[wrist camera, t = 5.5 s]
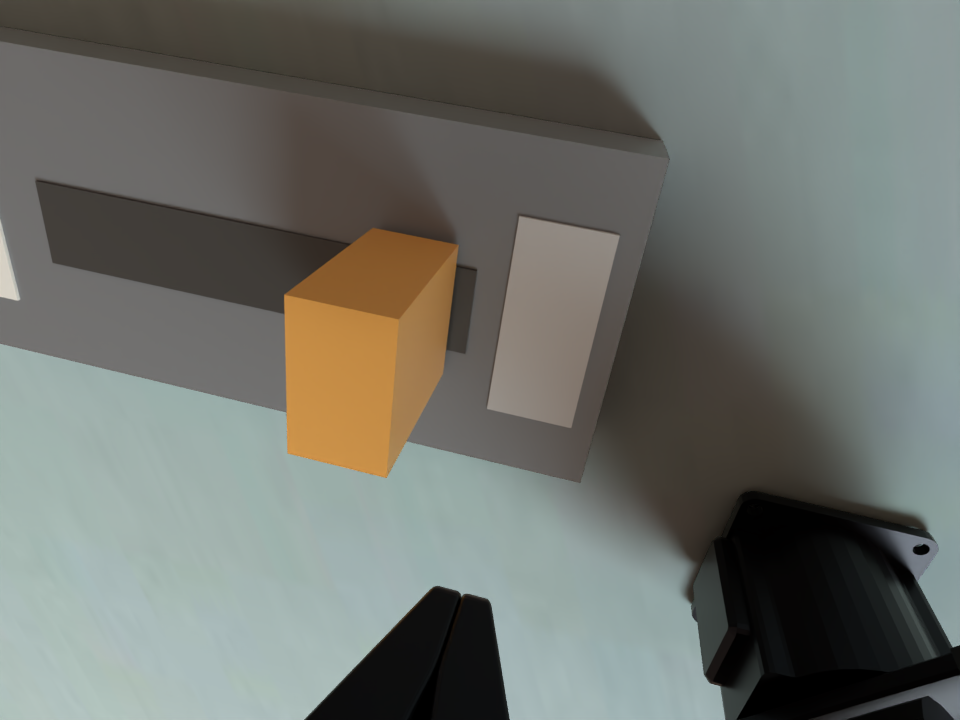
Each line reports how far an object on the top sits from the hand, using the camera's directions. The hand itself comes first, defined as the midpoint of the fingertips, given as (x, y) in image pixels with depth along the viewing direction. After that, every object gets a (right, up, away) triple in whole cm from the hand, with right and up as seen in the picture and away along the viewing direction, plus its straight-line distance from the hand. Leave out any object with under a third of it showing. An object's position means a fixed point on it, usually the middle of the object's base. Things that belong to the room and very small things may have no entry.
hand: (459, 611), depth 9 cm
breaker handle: (-2, +5, +9) cm, 10 cm away
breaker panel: (-7, +8, +12) cm, 16 cm away
